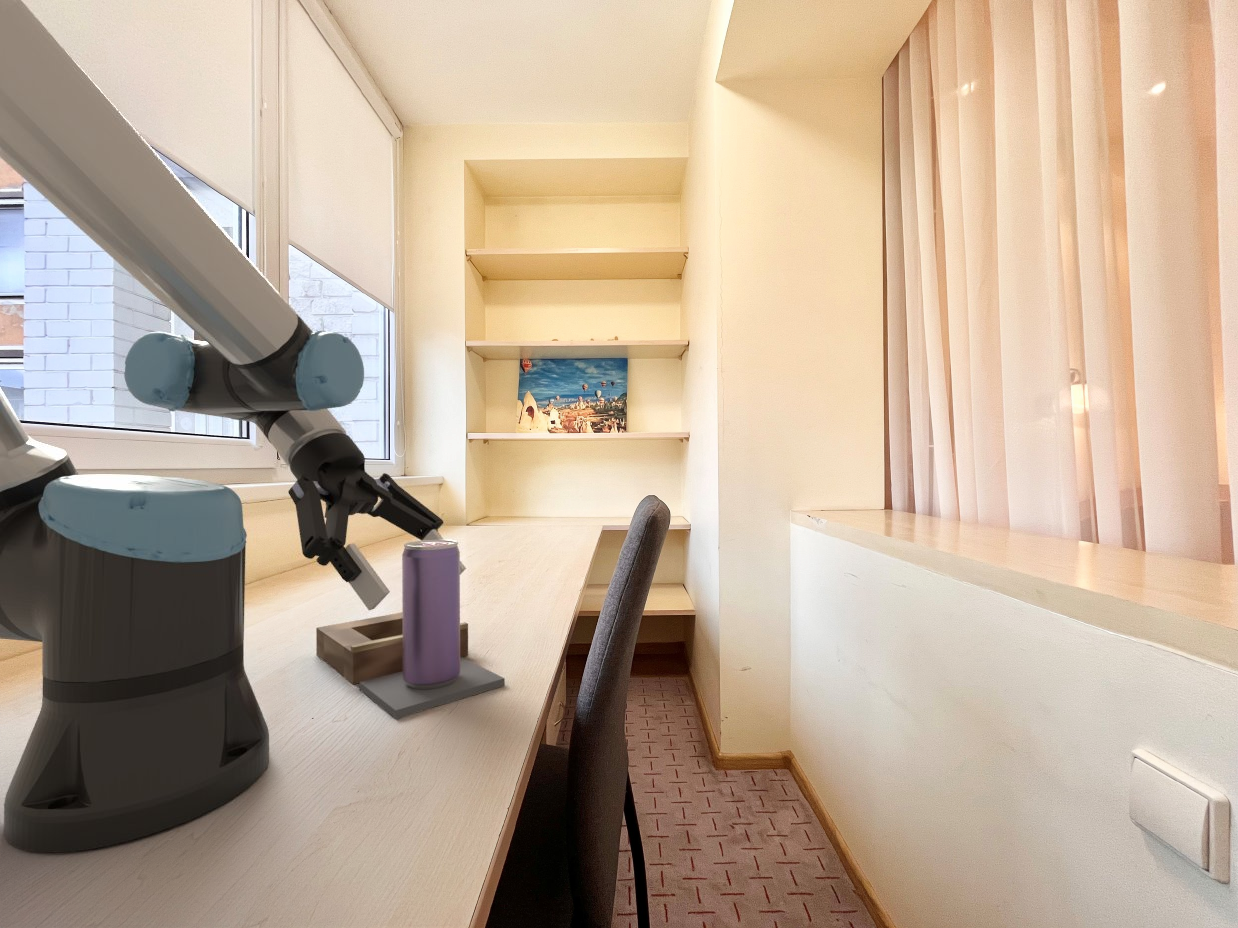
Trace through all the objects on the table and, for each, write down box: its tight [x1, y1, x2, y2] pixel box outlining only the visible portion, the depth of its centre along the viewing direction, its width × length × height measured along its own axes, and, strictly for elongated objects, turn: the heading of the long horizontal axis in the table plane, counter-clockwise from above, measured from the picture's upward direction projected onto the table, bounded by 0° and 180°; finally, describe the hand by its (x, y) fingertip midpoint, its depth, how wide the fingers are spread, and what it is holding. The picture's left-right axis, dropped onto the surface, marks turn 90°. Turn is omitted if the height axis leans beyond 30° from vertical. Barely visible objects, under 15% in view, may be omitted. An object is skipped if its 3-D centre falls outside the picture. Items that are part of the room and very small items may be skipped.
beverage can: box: [401, 539, 461, 689], centre depth 62 cm, size 6×6×15 cm
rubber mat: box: [358, 657, 506, 719], centre depth 62 cm, size 12×10×1 cm
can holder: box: [315, 611, 469, 685], centre depth 73 cm, size 14×14×4 cm
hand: (422, 587), depth 64 cm, fingers open, 13 cm apart
